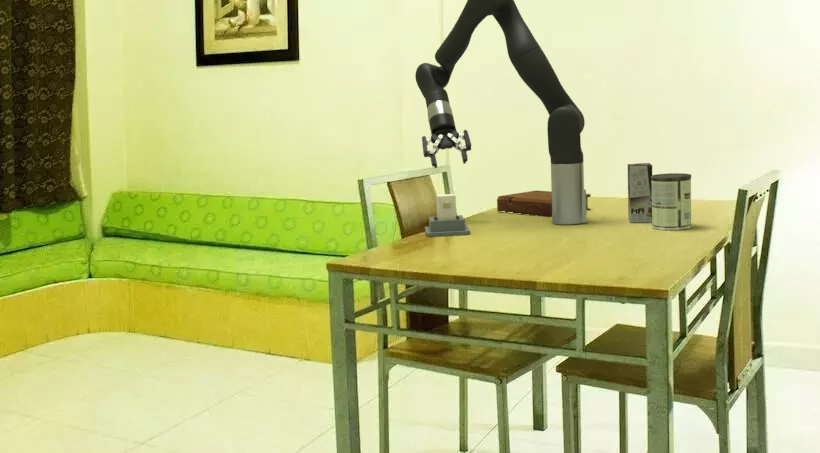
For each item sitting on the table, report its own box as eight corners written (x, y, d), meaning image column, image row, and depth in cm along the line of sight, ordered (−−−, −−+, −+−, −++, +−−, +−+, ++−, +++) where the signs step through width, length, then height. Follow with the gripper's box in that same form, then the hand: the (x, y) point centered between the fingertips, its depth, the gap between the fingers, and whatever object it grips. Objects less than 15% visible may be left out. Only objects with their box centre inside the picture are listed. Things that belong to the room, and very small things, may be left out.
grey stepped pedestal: (466, 227, 247) (465, 214, 246) (470, 234, 234) (470, 220, 233) (424, 230, 246) (424, 216, 246) (426, 237, 234) (426, 222, 233)
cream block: (455, 227, 242) (454, 193, 241) (457, 230, 237) (455, 196, 235) (437, 227, 242) (436, 194, 241) (439, 231, 236) (437, 197, 235)
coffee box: (653, 222, 239) (652, 165, 236) (629, 223, 240) (628, 165, 238) (650, 218, 248) (650, 162, 245) (627, 218, 249) (627, 163, 246)
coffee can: (654, 224, 236) (654, 173, 234) (693, 224, 231) (693, 173, 229) (648, 230, 227) (647, 177, 225) (688, 230, 222) (688, 176, 220)
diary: (497, 214, 277) (496, 196, 276) (536, 207, 288) (535, 190, 288) (552, 218, 259) (551, 199, 258) (590, 211, 271) (590, 193, 270)
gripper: (417, 115, 254) (426, 161, 246) (464, 108, 254) (474, 153, 247) (418, 130, 260) (426, 174, 253) (464, 123, 261) (474, 167, 253)
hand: (450, 164), depth 250 cm, fingers open, 8 cm apart
